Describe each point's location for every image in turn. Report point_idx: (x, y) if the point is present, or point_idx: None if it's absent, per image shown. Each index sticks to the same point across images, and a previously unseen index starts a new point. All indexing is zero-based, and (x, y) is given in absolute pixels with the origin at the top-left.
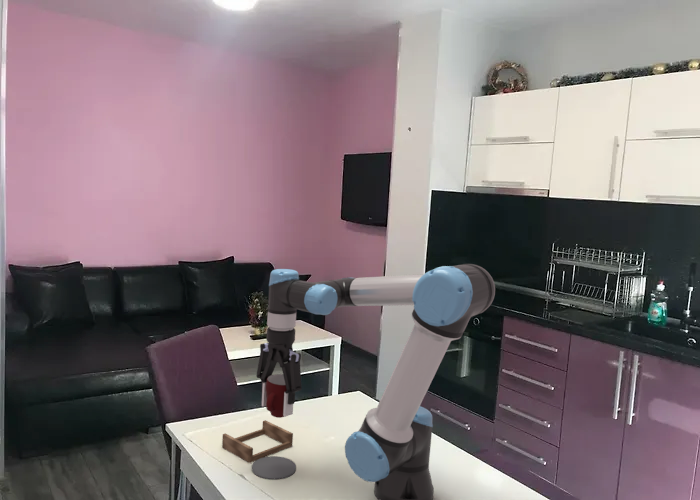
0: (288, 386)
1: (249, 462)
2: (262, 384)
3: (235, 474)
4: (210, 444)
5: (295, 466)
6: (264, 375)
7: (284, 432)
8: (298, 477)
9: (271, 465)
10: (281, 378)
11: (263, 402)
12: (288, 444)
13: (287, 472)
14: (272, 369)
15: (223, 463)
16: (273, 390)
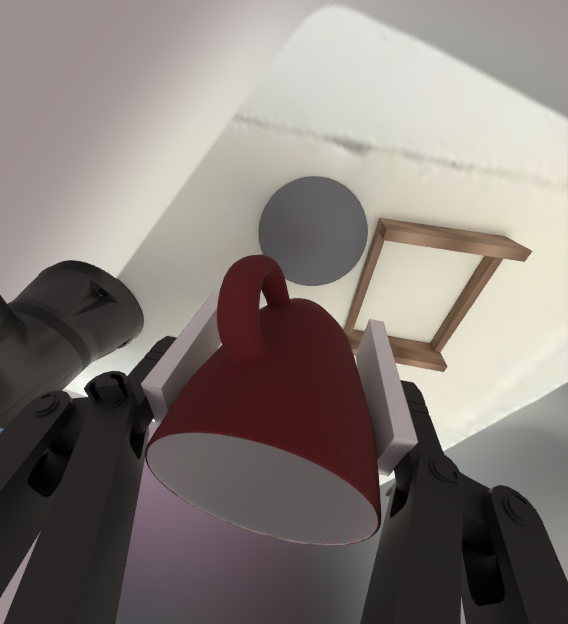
0: (88, 432)
1: (380, 218)
2: (427, 433)
3: (376, 137)
4: (555, 229)
5: None
6: (425, 525)
7: None
8: (243, 240)
9: (318, 237)
10: (326, 507)
11: (373, 333)
12: (345, 329)
13: (267, 235)
14: (367, 619)
15: (450, 163)
16: (236, 375)
